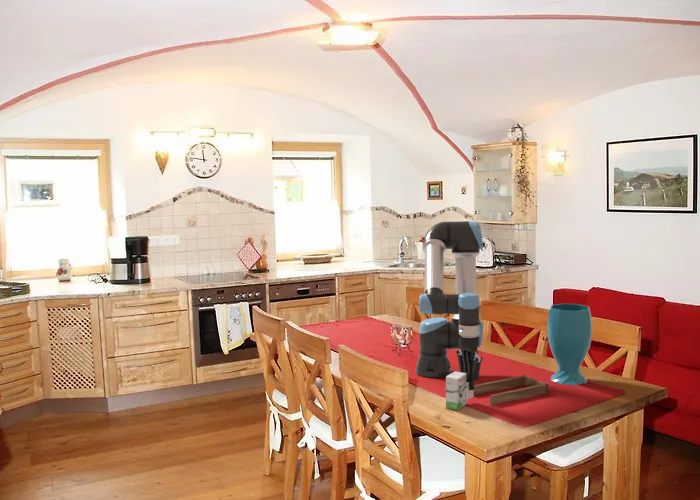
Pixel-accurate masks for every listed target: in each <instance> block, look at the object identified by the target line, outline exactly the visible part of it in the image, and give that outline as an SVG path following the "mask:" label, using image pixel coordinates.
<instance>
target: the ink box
mask: <svg viewBox="0 0 700 500" xmlns="http://www.w3.org/2000/svg"><path fill="white" fill-rule="evenodd" d="M466 381H467V373H462V372H460V371H453V372H451V374H449V375H448V376H445V408H446V409H450V410H453V411H454V410H455V411H458V410H460V409H461V408H463V407H464V406H466V405H467V404H468V403H467V402H468V399H467V382H466Z"/></svg>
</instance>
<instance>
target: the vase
mask: <svg viewBox="0 0 700 500" xmlns="http://www.w3.org/2000/svg"><path fill="white" fill-rule="evenodd" d="M547 317H548V319H547V328H546V329H547V333H546V334H547V340H548V344H549V348H550V351H551V353H552V355H553V358H554V360H555V362H556V364H557V368H558V371H556V372H555V373H554V374H552V375H551V376H550V381H552V382H555V383H558V384H560V385H568V384H569V385H570V386H571V385H573V386H578V384H579V385H583V383H584V384H587V382H588V379H587V378H586V377H585V376H584V375H583V374H582V372H581V366H582V363H583V362H584V360H585V358H586V356H587V355H588V352H589V350H590V347H591V343H592V338H593V337H592V336H593V322H592V321H593V320H592V313H591V308H590V306H587V305H583V304H578V303H558V304H551V306H550V309H549V313H548V316H547Z"/></svg>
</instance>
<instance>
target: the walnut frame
mask: <svg viewBox="0 0 700 500" xmlns="http://www.w3.org/2000/svg"><path fill="white" fill-rule="evenodd" d="M521 386H525V387H522V388H519V389H514V390H510V391H509V390H508V391H504V392H499V393H495V394H490V395H489V405H490V406H497V405H500V404H505V403H509V402H514V401H519V400H523V399H527V398H533V397H536V396H542V395H546V394H549V384H548V383H547V382H546V383H545V382H543V381H540V380H538V379H535V378H533V377H530V376H527V375H519V376H514V377H513V376H512V377H510V378H504V379H500V380H493V381H489V382H484V383H479V384H474V390H473V397H474V396H477V395H483V394H488V393H492V392H496V391H497V392H498V391H502V390H506V389H512V388H516V387H521Z"/></svg>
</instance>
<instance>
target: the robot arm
mask: <svg viewBox="0 0 700 500" xmlns="http://www.w3.org/2000/svg"><path fill="white" fill-rule="evenodd" d="M483 248H484V243H483V235H482V229H481V225H480V223H479V222H477V221H472V220H471V221H469V220H467V221H464V220H463V221H462V220H461V221H441V222H438V223H436V224H434V225H433V226H432V227H431V228H429V230H428V231H427V232H426V233H425V235H424V237H423V240H422V251H423V253H424V293H421V294H420V295H419V296H418V297H419V299H418V300H419V302H418V303H419V304H418V307H419V309H418V311H419V312H420V314H427V315H440V314H441V315H445V314H446V315H453V316H452V317H451V321H448V319H447V318H446V317H441V316H440V317H430V318H426V319H424V320H422V321H421V322H420V324H419V331H418V333H419V355H418V359H417V362H416V365H415V373H416V375H418V376H421V377H424V378H425V377H426V378H443V377H445V378H446V376H448V375H449V374H451V373H452V366H451V362H450V360H449V357H448V350H456V353H455V354H456V356H457V359H458V366H459V367H458V368H459V372H462V373H467V381H466V382H467V400H468V399H473V398H474V396H473V390H474V385H475V382H477V381H479V377H480V372H481V371H480V369H481V364H482V361H483V357H482V356H479V352H478V349H480V348H481V346H482V343H483V342H482V341H483V335H484V322H483V321H481V317H480V304H481V303H480V296H479V294H478V293H477V256H479V254H480V250H483ZM446 250H451V255H453V257H454V258H455V259H454V260H455V261H454V263H455V264H454V265H455V272H454V273H455V293H454V294H453V293H452V294H451V293H445V288H444V287H445V285H444V283H445V281H444V280H445V278H444V277H445V276H444V272H445V271H444V270H445V269H444V253H445V252H446Z"/></svg>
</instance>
